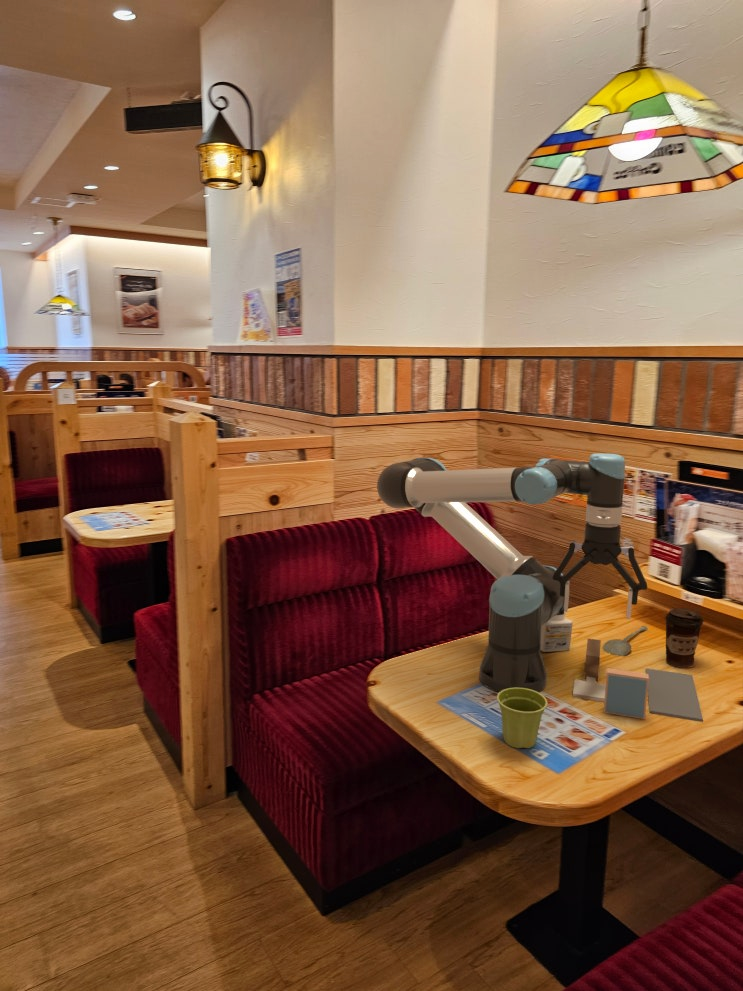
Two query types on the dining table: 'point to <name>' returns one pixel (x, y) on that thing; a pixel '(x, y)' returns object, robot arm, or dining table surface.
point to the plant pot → (521, 715)
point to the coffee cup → (682, 636)
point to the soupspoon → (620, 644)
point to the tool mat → (673, 695)
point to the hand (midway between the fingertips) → (596, 613)
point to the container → (556, 633)
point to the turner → (591, 675)
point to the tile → (626, 693)
